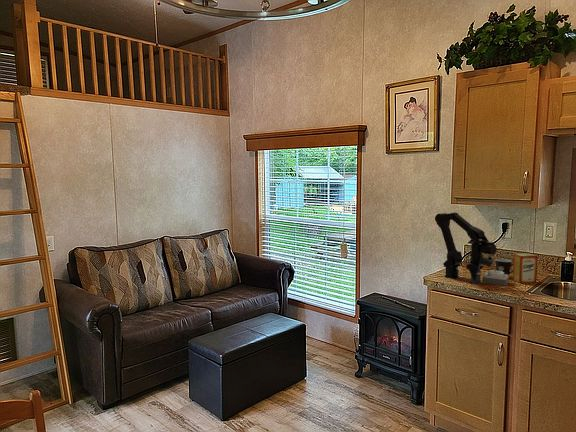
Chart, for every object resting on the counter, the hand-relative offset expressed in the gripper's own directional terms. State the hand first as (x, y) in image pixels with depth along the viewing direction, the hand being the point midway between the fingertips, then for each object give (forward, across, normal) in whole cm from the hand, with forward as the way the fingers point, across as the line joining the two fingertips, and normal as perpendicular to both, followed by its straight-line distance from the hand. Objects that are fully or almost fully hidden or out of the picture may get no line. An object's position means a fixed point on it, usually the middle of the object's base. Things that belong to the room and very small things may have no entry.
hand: (475, 279), depth 234 cm
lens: (+2, 0, 0) cm, 2 cm away
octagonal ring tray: (+2, +7, -9) cm, 12 cm away
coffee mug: (+2, +23, -11) cm, 26 cm away
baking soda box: (+2, +18, -22) cm, 29 cm away
